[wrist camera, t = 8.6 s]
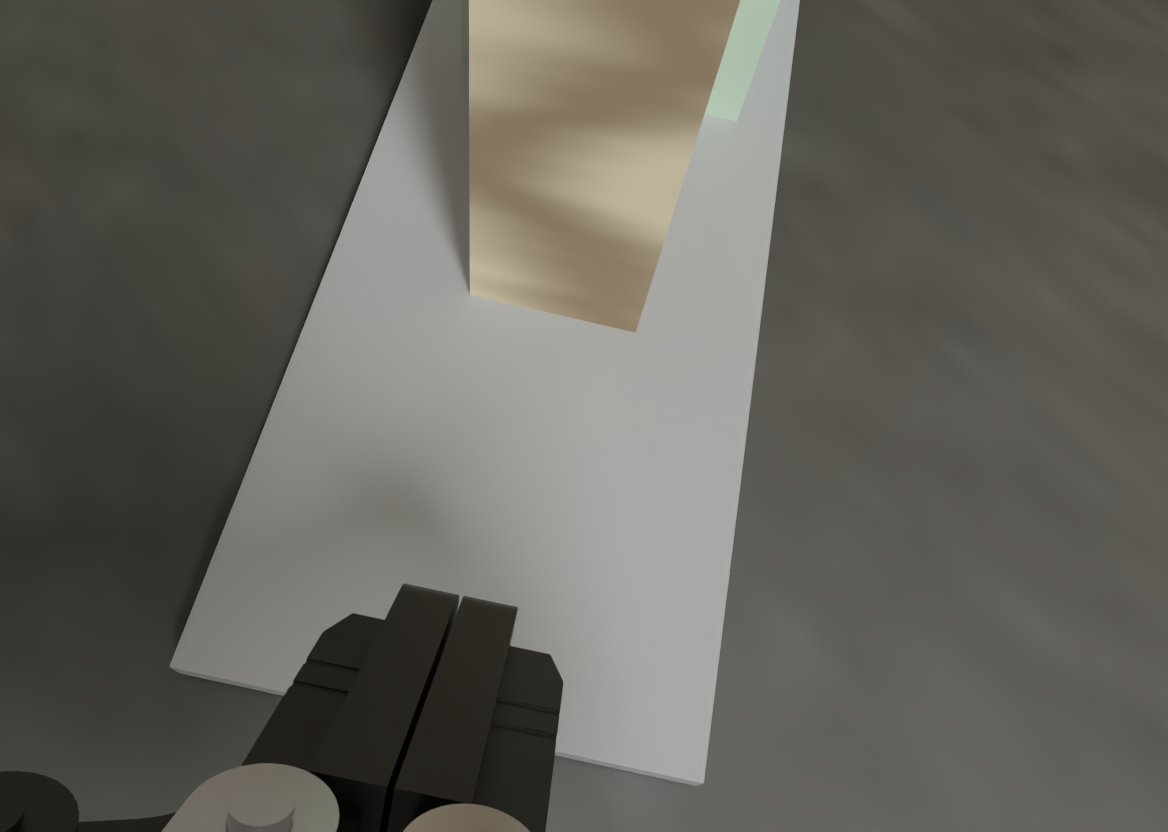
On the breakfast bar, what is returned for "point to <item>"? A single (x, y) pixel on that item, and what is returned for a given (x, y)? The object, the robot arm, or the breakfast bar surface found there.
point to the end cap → (736, 61)
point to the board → (513, 435)
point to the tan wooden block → (583, 145)
